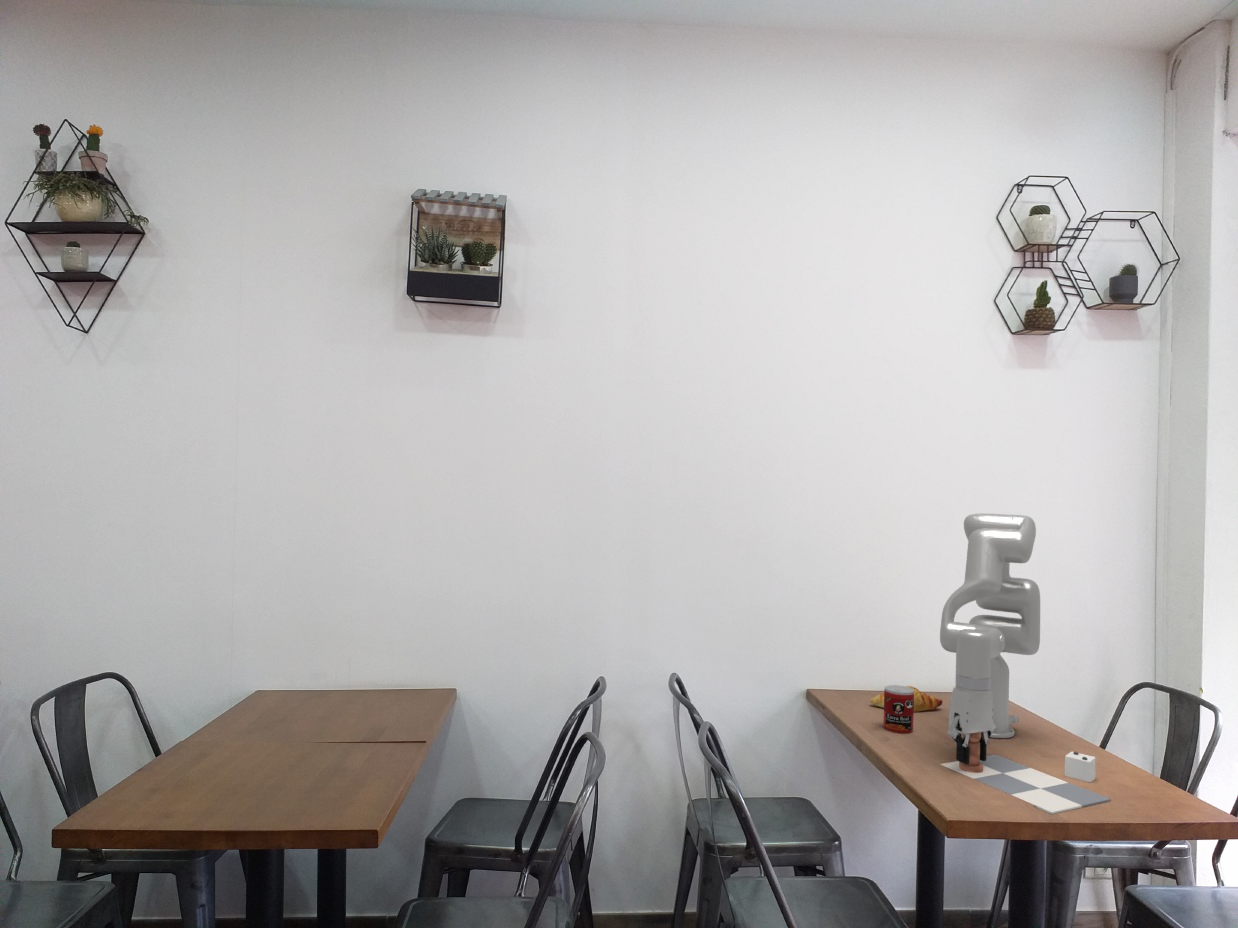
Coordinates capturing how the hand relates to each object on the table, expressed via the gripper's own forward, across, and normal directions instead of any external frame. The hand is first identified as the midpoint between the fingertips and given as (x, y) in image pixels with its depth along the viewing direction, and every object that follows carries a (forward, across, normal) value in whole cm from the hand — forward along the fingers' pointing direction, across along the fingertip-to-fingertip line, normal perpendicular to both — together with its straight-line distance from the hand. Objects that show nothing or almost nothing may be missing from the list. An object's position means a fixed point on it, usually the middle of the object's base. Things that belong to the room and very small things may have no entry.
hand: (971, 759), depth 181 cm
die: (+2, -21, +12) cm, 24 cm away
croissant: (+3, -25, -44) cm, 51 cm away
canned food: (+3, -7, -30) cm, 30 cm away
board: (+2, -5, +10) cm, 11 cm away
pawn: (+2, 0, 0) cm, 2 cm away
